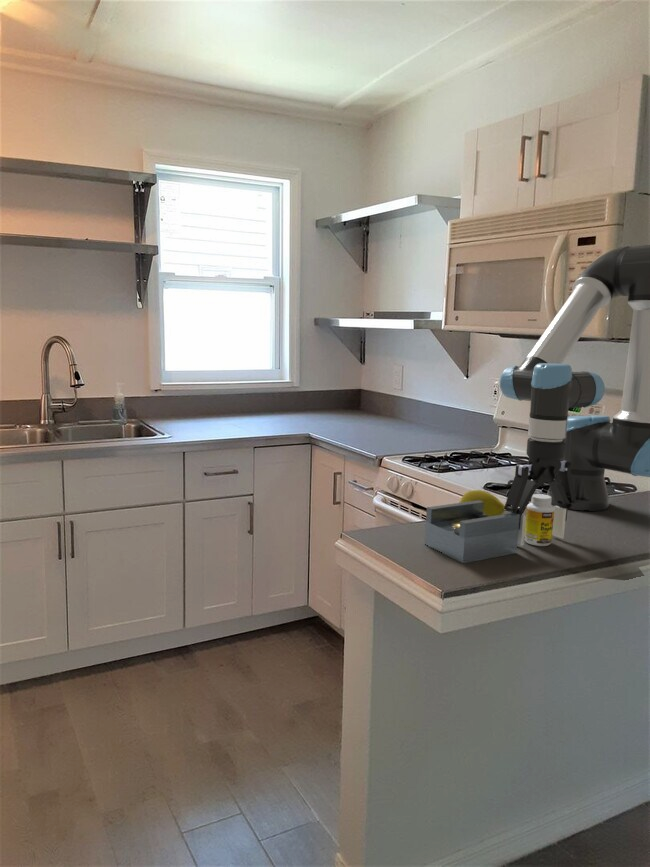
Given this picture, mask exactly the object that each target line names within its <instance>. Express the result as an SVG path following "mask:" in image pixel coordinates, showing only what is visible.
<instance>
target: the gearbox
mask: <svg viewBox="0 0 650 867" xmlns="http://www.w3.org/2000/svg"><path fill="white" fill-rule="evenodd" d="M483 510H484V502H482V501H480V500H477V501H470V502H462V503H459V502H456V503H450V504H449V503H448V504H442V505H434V506H428V507H426V519H425V534H424V535H425V536H424V545H425V544H426V545H425V546H427V545H428V546H427V547H428V548H430V549H433V548H434V549H433V550H435V549H436V550H435V551H437V550H438V551H437V552H439V551H440V552H439V553H441V552H442V553H441V554H443V555H445V556H447V557H449V558H451V559H453V560H455V561H457V562H459V563H461V564H467V563H468V564H469V563H473V562H478V561H483V560H488V559H489V560H490V559H493V558H499V557H503V556H504V557H505V556H509V555H515V554H517V553H518V545H517V543H518V530H519V517H520V515H518V514H516V513H511V512H509V513H505V514H504V513H503V514H502V515H497V516H490V517H488V515H487V514H485V513H483Z"/></svg>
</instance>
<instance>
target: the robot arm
mask: <svg viewBox="0 0 650 867" xmlns="http://www.w3.org/2000/svg"><path fill="white" fill-rule="evenodd" d="M571 289H572V292H571V294H570V295H569V297H568V298H567V299H566V301H565V302H564V304H562V307H561V308H560V309H559V311H558V312H557V313H556V315H555V316H554V318H553V319H552V320H551V322H550V323H549V325H548V326H547V328H546V329H545V331H544V332H543V333H542V334H541V336H540V337H539V338H538V340H537V341H536V343H535V344H534V346H533V347H532V348H531V349H530V351H529V353H528V354H527V355H526V356H525V358H524V360H523V361H522V363H521V364H520V365H519V366H518V365H514V366H507V367H506V368H505V369H504V370H503V371H502V373H501V375H500V378H499V388H500V391H501V393H502V395H504V396H505V397H506V398H508V399H513V400H518V401H520V402H522V401H525V402H530V408H529V409H530V410H529V418H528V429H527V431H528V432H527V435H528V437H529V438H527V440H526V452H525V453H526V456H527V457H528V462H527V464H524V465H523V464H519V463H518V464H516V466H515V472H514V473H515V474H514V478H513V481H512V483H511V487H510V490H509V492H508V495H507V498H506V500H505V503H504V506H505V507H504V511H507V512H509V513H516V514H518V515H520V517H519V530H518V543H517V546H520V547H523V546H524V544H525V539H524V536H525V525H526V514H524V512H526V510H527V505H528V504H529V503H530V502H531V500H532V496H533V495H534V494H535V492H536V490H537V489H538V488H540V486H541V485H544V484H546V483H547V484H548V486H549V488H548V490H547V493H546V495H549V496H551V497H552V499H551V505H552V506H553V507H554V520H553V530H552V537H553V536H554V537H556V538H558V539H561V540H562V539H565V529H566V528H565V527H566V522H567V518H568V509H569V510H576V511H584V510H589V511H591V512H592V511H593V512H594V511H597V512H598V511H604V510H607V509H608V508H609V507H610V496H609V495H608V489H607V484H606V480H605V470H609V471H613V472H617V473H618V472H619V473H624V474H629V475H632V476H634V477H643V478H644V477H646V478H650V244H647V245H646V244H645V245H634V246H633V245H631V246H620V247H617V248H614V249H611V250H609V251H607V252H605V253H604V254H602V255H600V256H599V257H597V259H595V260H593V261H592V262H591V263H590V264H589V265H587V267H586V268H584V270H583V271H581V273H580V274H579V275H578V276H577V278H576V280H575V281H574V282H573V285H572V288H571ZM617 297H627V304H628V305H629V306H630V308H632V310H633V311H632V320H631V326H630V327H631V328H630V333H629V334H630V336H629V342H628V343H629V344H628V351H627V352H628V353H627V358H626V359H627V360H626V367H625V372H624V373H625V374H624V375H625V376H624V381H623V389H622V390H623V391H622V399H621V404H620V405H621V406H620V410H619V412H617V413H616V414H615V415H613V416H612V421H611V418H610V416H609V415H603V414H601V415H600V414H594V415H593V414H592V415H591V414H589V415H573V416H570V415H569V409H574V408H585V409H586V408H588V407H591V406H594V405H596V404H598V403H599V402H601V401H602V399H603V397H604V395H605V392H606V391H605V389H606V387H605V383H604V380H603V379H602V377H601V376H600V375H599V374H597V373H595V372H592V371H585V370H581V371H573V370H572V366H571V365H570V364H567V363H563V362H564V361H565V360H566V358H567V357H568V356H569V354H570V353H571V351H572V349H573V348H574V347H575V346H576V343H578V341H579V339H580V338H581V337H582V335H583V334H584V332H585V331H586V330H587V328H588V326H589V325H590V324H591V322H592V320H593V319H594V317H595V316H596V314H597V313H598V312H599V310H600V309H603V308H606V307H607V306H608V305H609V304H610V302H611V301H612V299H615V298H617ZM568 415H569V416H568ZM589 511H588V512H589Z"/></svg>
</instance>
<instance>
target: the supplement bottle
mask: <svg viewBox="0 0 650 867" xmlns="http://www.w3.org/2000/svg"><path fill="white" fill-rule="evenodd" d="M551 499H552V497H551V496H549V495H547V494H543V493H534V494H533V496H532V498H531V500H530V502H529V503H528V505H527V507H526V514H525V515H526V521H525V534H524V542H525V543H527V544H529V545H531V546H535V547H547V546H550V545H551V543H552V538H553V535H552V530H553V520H554V505H553V504H551Z"/></svg>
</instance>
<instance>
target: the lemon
mask: <svg viewBox="0 0 650 867" xmlns="http://www.w3.org/2000/svg"><path fill="white" fill-rule="evenodd" d="M477 500H480V501H482V502H484V510H483V513H485V514H487V515H488V517H490V516H497V515H503V514H504V512H505V509H504V507H505V504H503V503H502V501H500V500H499V499H498V497H497V496H495V495H494V494H491V493H489V492H488V491H484V490H480V489H479V490H478V489H477V490H476V489H475V490H470V491H467V492H466V493H464V494H463V496H462V497H461V498H460V500H459V502H458V503H462V502H470V501H477Z"/></svg>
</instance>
